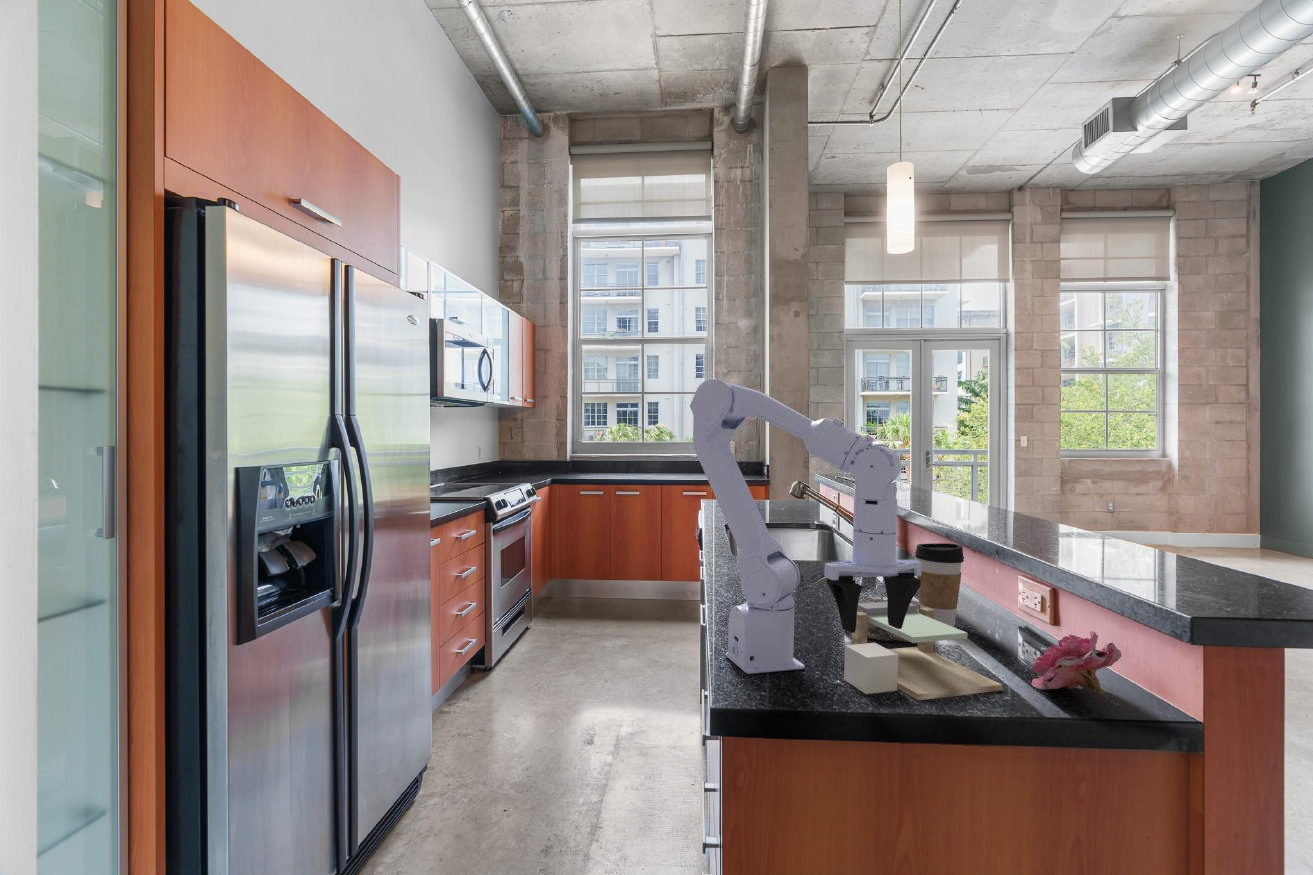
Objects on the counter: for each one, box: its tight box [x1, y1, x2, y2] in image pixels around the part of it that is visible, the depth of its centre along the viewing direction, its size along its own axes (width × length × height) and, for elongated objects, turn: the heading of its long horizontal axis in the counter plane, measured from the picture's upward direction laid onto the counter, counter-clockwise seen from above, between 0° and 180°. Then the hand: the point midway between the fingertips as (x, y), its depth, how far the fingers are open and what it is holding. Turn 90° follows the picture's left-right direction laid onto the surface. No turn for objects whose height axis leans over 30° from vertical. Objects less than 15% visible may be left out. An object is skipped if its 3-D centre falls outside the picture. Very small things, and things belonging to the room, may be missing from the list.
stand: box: [850, 607, 1003, 701], centre depth 91 cm, size 14×16×8 cm
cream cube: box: [843, 642, 898, 695], centre depth 86 cm, size 5×5×5 cm
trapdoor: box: [857, 602, 968, 644], centre depth 94 cm, size 9×14×3 cm
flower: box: [1030, 630, 1122, 706], centre depth 85 cm, size 11×10×10 cm
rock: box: [840, 594, 921, 643], centre depth 110 cm, size 13×6×15 cm
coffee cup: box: [914, 542, 965, 628], centre depth 117 cm, size 8×8×15 cm
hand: (872, 628), depth 86 cm, fingers open, 7 cm apart
